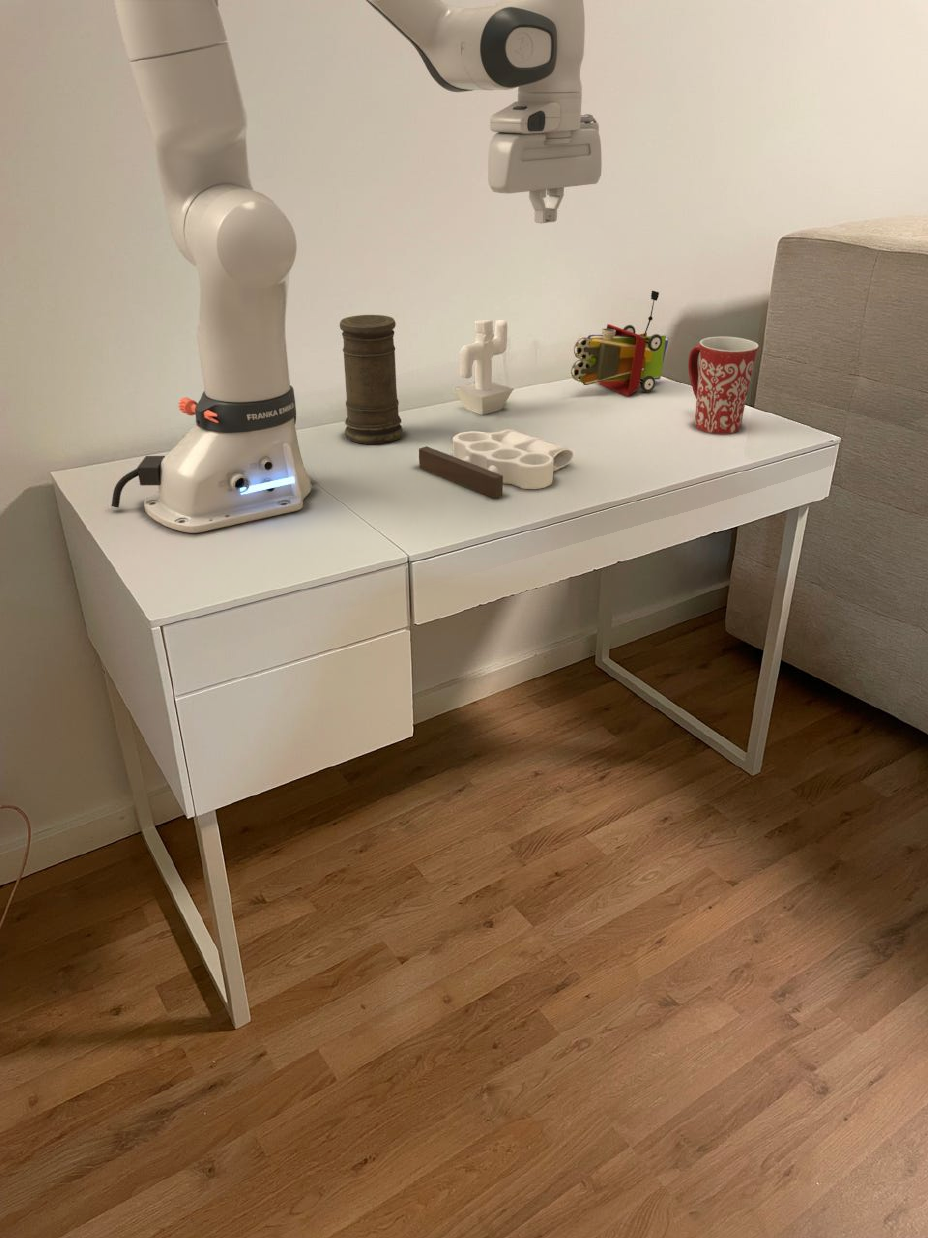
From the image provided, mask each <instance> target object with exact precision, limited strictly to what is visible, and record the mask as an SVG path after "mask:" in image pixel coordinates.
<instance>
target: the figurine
mask: <svg viewBox="0 0 928 1238" xmlns="http://www.w3.org/2000/svg"><path fill="white" fill-rule="evenodd" d="M494 323H495V324H494ZM474 336H475V337H474V339H475V340H474V342H471V343H466V344H464V345H463V346H462V347H461V349H460V351H459V376H460V377H461V378H463V379H471V378H472V377H473V364H474V363H475V368H474V371H475V372H474V373H475V374H474V375H475V376H474V382H471V383H467V384H463V385H459V386H455V387H453V390H454V392H455V394H456V395H457V397H458V398H459V400H460V402H461V404H462V405H463V408H464V409H465V410H466V411H470V412H473V413H475V414H479V415H481V416H484V415H487V414H491V413H495V412H498V411H502V409H503V408H504V406H505V404H506V403H507V401H508V399H509V397H510V396H511V394H512V393H513V391H514V388H513V387H510V386H506V385H503V384H500V383H496V382H493V357H495V356H499V355H502V354H504V353H505V352H506V350H507V347H508V323H507V321H506V320H505V319H501V318H500V319H496V320H495V322H494V321H493V320H492V319H488V318H487V319H486V318H485V319H477V320H474ZM474 361H475V362H474Z"/></svg>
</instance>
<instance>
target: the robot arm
mask: <svg viewBox="0 0 928 1238" xmlns="http://www.w3.org/2000/svg"><path fill="white" fill-rule="evenodd" d="M365 1H366V2H367V3H368V4H369V5H370V6H371V7H372V8H373V9H374V10H375V11H376V12H377V13H378V14H379V15H380V16H381V17H383V18H384V19H385V21H387V22H388V23H389V24H390V25H391V26H392V27H393V28H394V29H396V30H397V31H398V32H399V33H400V34H401V35H402V37H404V38H405V39H406V40H407V41H408V42H409V43H410V44H411V45H412V46H413V48H414V49H415V50H416V51H417V53H418V55H419V56H420V58H421V59H422V62H423V64H424V66H425V68H426V69H427V71H428V72H429V75H430V76H431V77H432V78H433V80H434V81H435V82H436V83H437V84H438V86H440V87H441V88H442V89H444V90H446V91H449V92H453V93H464V92H472V91H510V90H513V89H517V101H514V102H512V103H511V104H510V105H508V106H506V107H504V108H502V109H500V110H499V111H496V112H495V113H493V114H492V115H491V116H490V118H489V128H490V131H491V132H493V133H495V134H493V136H492V137H491V138H490V142H489V145H488V157H487V158H488V159H487V162H488V163H487V180H488V185H489V187H490V189H491V190H492V192H494V193H499V194H506V195H507V194H509V195H510V194H516V193H525V192H528V198H529V201H530V203H531V205H532V208H533V210H534V222H535V223H536V224H541V225H542V224H547V223H556V221H557V220H558V209H559V207H560V205H561V202H562V200H563V198H564V194H565V193H564V192H565V188H571V187H580V186H589V185H596V184H598V182H599V180H600V179H601V176H602V143H601V142H602V141H601V137H600V133H599V132H600V126H599V122H597V120H596V118H594V115H592V114H590V113H587V114H582V102H583V101H582V100H583V98H582V97H583V86H582V82H581V68H582V63H583V60H584V56H585V39H586V38H585V36H586V35H585V33H586V31H585V30H586V28H585V27H586V26H585V25H586V24H585V23H586V21H585V20H586V19H585V5H584V0H501V1H498V2H496V3H495V4H494V5H487V6H480V7H462V6H461V7H460V6H454V5H451V4H448V3H446V2H444V1H442V0H365ZM113 2H114V8H115V12H116V18H117V23H118V27H119V32H120V35H121V39H122V43H123V46H124V50H125V54H126V58H127V60H128V64H129V67H130V71H131V73H132V77H133V80H134V84H135V87H136V90H137V93H138V97H139V100H140V103H141V107H142V110H143V113H144V116H145V119H146V123H147V126H148V130H149V133H150V137H151V140H152V145H153V149H154V154H155V159H156V166H157V170H158V177H159V181H160V182H159V183H160V186H161V191H162V196H163V201H164V205H165V209H166V214H167V218H168V222H169V229H170V234H171V236H172V238H173V241H174V243H175V245H176V247H177V249H178V251H179V252H180V254H181V256H182V257H184V258H185V259H186V260H187V262H189V263H190V264H192V265H193V266H194V267H196V268H197V272H198V279H199V315H198V316H199V317H198V324H197V327H196V339H197V347H198V354H199V363H200V368H201V375H202V382H203V392H202V394H201V397H200V399H199V401H198V402H197V401H196V400H194V399H191V398H189V397H186V396H185V397H182V398H181V399H179V402H178V405H177V407H178V408H179V409H178V410H179V411H181V413H184V414H186V415H187V416H195V424H194V425H193V427H192V428H191V429H190V430H188V432H187V433H185V435H184V436H183V437H182V438H181V439H180V440H179V441H178V443H176V445H175V446H174V447H173V448H171V450H170V451H169V452H168V453H167V454H166V455H145V456H144V458H143V459H142V460H141V462H140V463H139V465H138V466H137V468H135V469H133V470H131V471H129V472H128V473H126V474H124V475H123V476H122V477H121V478H120V479H119V480H118V481H117V483H116V484H115V485H114V486H115V487H114V489H113V493H112V501H111V505H110V506H111V507H113V508H116V509H119V508H120V507H119V506H120V501H121V495H122V491H123V489H124V487H125V486H126V485H127V483H129V482H130V481H132V480H133V479H135V478H137V477H138V480H139V485H140V486H158V491H156V492H153V493H151V494H148V495H146V496H145V497H144V500H143V506H144V511H145V513H146V514H147V515H148V516H149V517H150V518H151V519H153V520H154V521H155V522H157V523H158V524H161V525H162V526H165V527H166V528H169V529H172V530H174V531H178V532H184V533H192V534H197V533H198V534H199V533H203V532H207V531H211V530H216V529H220V528H225V527H230V526H234V525H238V524H244V523H248V522H253V521H256V520H261V519H266V518H270V517H274V516H279V515H283V514H289V513H292V512H297V511H300V510H302V509H303V507H304V499H305V498H307V496H308V495H309V494H310V493H311V491H312V489H313V485H312V483H311V481H310V478H309V475H308V473H307V470H306V467H305V464H304V461H303V457H302V454H301V453H302V452H301V449H300V445H299V440H298V435H297V428H296V423H297V408H296V407H297V406H296V398H295V391H294V390H295V389H294V387H293V386H292V385H291V381H290V379H291V378H290V369H289V357H288V345H287V333H286V320H287V306H288V298H289V297H288V296H289V284H290V283H289V282H290V273H291V272H290V271H291V270H292V268H293V265H294V263H295V260H296V256H297V237H296V233H295V229H294V228H293V225H292V223H291V221H290V220H289V218H288V217H287V215H286V214H285V213H284V212H283V210H282V209H281V208H280V207H279V205H278V204H277V203H276V202H274V200H273V199H271V198H270V197H268V196H267V195H265V194H263V193H261V192H260V191H256V190H255V189H254V187H253V184H252V181H251V175H250V166H249V156H248V148H247V147H248V145H247V129H248V116H247V112H246V108H245V105H244V101H243V97H242V93H241V89H240V85H239V80H238V76H237V73H236V69H235V65H234V61H233V57H232V53H231V49H230V45H229V41H228V38H227V34H226V30H225V27H224V22H223V20H222V16H221V13H220V10H219V0H113ZM547 196H548V199H547V201H546V203H545V200H544V199H546V198H547Z"/></svg>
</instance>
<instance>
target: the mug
mask: <svg viewBox="0 0 928 1238" xmlns="http://www.w3.org/2000/svg"><path fill="white" fill-rule="evenodd" d="M759 347H760V345H759V344H758V343H757V342H756V341H754V340H751V339H746V338H743V337H735V336H710V337H705V338H702V339H701V340H700V341H699V342H698V345H695V346H693V347H692V348H691V350H690V353H689V357H688V364H687V365H688V366H687V367H688V375H689V381H690V384H691V388H692V391H693V394H694V397H695V399H696V401H695V413H694V427H696V428H697V429H698V430H700V431H702V432H705V433H710V434H715V435H716V434H717V435H728V434H729V435H730V434H734V433H738V431H740V430H741V428H742V423H743V417H744V412H745V407H746V403H747V397H748V393H749V389H750V388H749V387H750V384H751V379H752V375H753V369H754V365H755V360H756V355H757V351H758V349H759Z"/></svg>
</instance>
